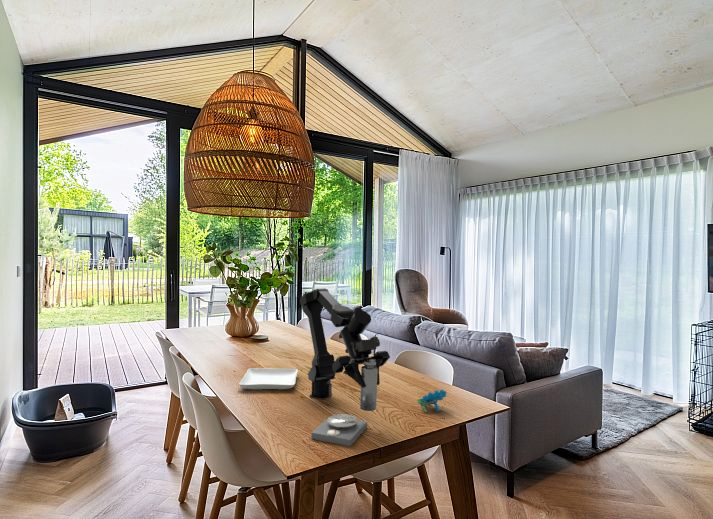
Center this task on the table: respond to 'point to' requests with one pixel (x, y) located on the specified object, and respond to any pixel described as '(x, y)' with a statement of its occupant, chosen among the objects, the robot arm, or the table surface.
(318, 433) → the scale
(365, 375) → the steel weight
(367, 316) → the robot arm
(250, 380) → the salad plate
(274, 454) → the table surface
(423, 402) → the turquoise toy figurine
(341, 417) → the scale pan
